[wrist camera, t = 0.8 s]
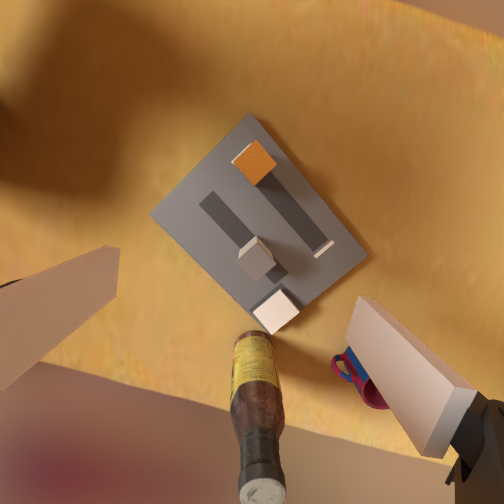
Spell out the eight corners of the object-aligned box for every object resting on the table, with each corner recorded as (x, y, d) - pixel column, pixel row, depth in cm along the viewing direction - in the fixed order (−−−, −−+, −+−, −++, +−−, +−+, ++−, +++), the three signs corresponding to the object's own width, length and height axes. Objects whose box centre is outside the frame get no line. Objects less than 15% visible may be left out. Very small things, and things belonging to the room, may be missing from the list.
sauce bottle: (226, 339, 40) (205, 482, 20) (261, 321, 39) (273, 451, 20) (247, 370, 41) (245, 531, 22) (281, 353, 40) (310, 504, 21)
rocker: (254, 308, 37) (252, 312, 35) (280, 287, 36) (279, 289, 34) (272, 330, 36) (271, 334, 35) (299, 308, 36) (299, 312, 34)
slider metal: (235, 167, 31) (232, 162, 26) (254, 148, 31) (256, 139, 25) (253, 186, 32) (253, 186, 26) (271, 168, 31) (277, 164, 26)
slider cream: (238, 250, 34) (236, 262, 28) (256, 234, 33) (257, 243, 28) (254, 266, 34) (255, 282, 29) (272, 251, 34) (276, 264, 28)
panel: (154, 212, 35) (148, 214, 33) (250, 116, 32) (250, 111, 30) (269, 327, 39) (270, 335, 37) (362, 252, 36) (369, 256, 34)
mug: (372, 379, 42) (395, 415, 35) (317, 361, 41) (331, 394, 34) (391, 346, 40) (419, 377, 34) (335, 326, 39) (352, 354, 33)
